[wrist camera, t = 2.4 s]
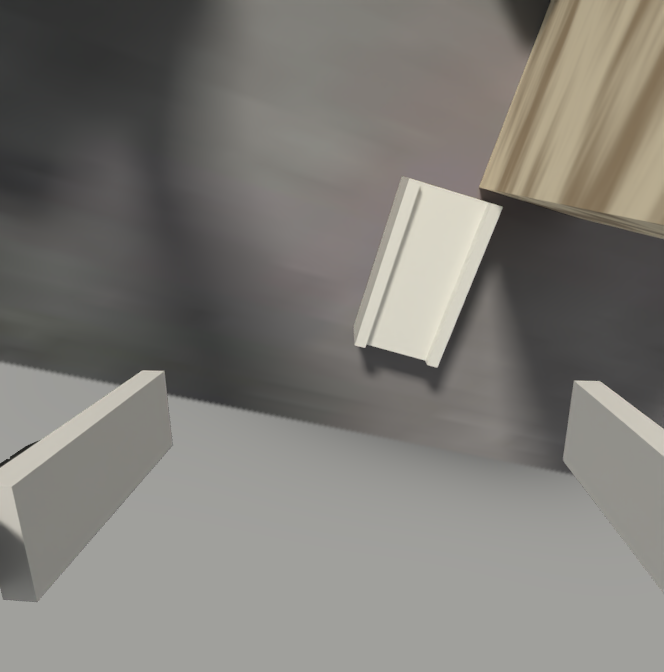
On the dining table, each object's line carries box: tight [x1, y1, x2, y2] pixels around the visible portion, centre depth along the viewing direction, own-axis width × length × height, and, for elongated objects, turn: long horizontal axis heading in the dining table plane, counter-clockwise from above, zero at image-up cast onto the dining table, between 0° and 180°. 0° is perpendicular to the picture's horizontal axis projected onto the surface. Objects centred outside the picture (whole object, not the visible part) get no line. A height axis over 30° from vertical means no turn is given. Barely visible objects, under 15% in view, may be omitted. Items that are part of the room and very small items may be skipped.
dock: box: [354, 176, 503, 368], centre depth 41 cm, size 8×15×5 cm, turn 164°
